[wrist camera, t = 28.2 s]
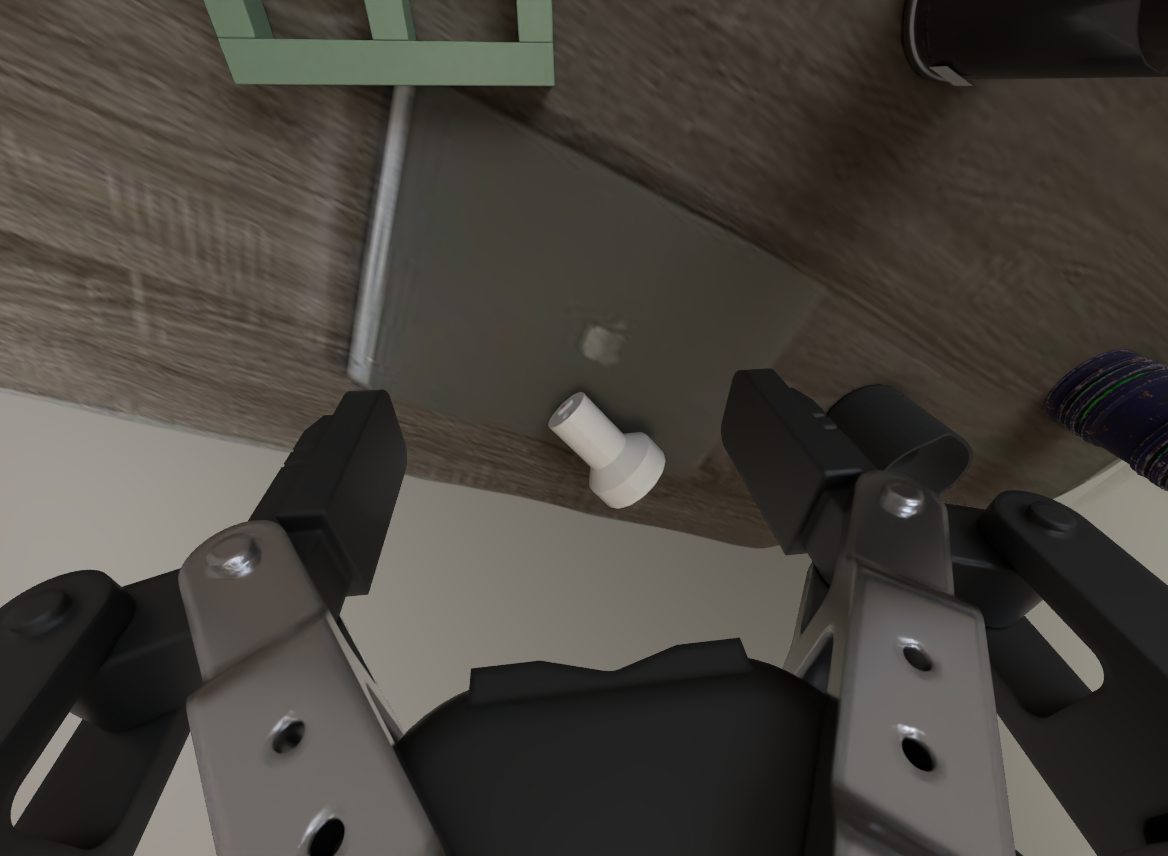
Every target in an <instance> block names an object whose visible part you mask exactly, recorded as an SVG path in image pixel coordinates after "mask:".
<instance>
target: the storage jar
mask: <svg viewBox="0 0 1168 856" xmlns="http://www.w3.org/2000/svg"><path fill="white" fill-rule="evenodd" d="M1044 410H1045V413H1046V414H1047V415H1048V416H1049V417H1050V418H1052V419H1054V420H1056V421H1059V423H1060V424H1062V425H1063V426H1065V427H1066V428H1067V429H1068V430H1069V431H1071V432H1072V433H1074V434H1075V435H1077V436H1079V437H1081V438H1083V440H1084V441H1086V442H1088V443H1091V444H1092V445H1094V446H1098V447H1103V448H1104V449H1106V450H1108V451H1109V452H1111V453H1112V454H1114V455H1116V456H1117V457H1119V458H1120V459H1122V460H1124V461H1125V462H1127V463H1128V464H1130V467H1131V468H1132V469H1133V470H1134V471H1136V473H1137V474H1138V475H1140V476H1144V477H1145V478H1147V479H1149V481H1150V482H1152V483H1154V484H1155V485H1156V486H1158V487H1160V488H1161V489H1164V490H1166V491H1168V366H1167V365H1165V364H1162V363H1160V362H1157V361H1152V360H1150V359H1147V358H1144V357H1140V356H1139V355H1138V354H1136V353H1134V352H1131V351H1128V350H1116V351H1111V352H1107V353H1104V354H1101V355H1099V356H1097V357H1094V358H1092V359H1090V360H1088V361H1086V362H1085V363H1083V364H1081V365H1080V366H1078V367H1077V368H1075V369H1074V370H1073V371H1071V372H1070V373H1069V374H1067V375H1066V376H1065V377H1064V378H1063V379H1062V380H1061V381H1060V382H1059V383H1058V384H1057V385H1056V386H1055V387H1054V388H1053V390H1052V391H1051V392H1050V394H1049V396H1048V397H1047V399H1046V402H1045V406H1044Z"/></svg>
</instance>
